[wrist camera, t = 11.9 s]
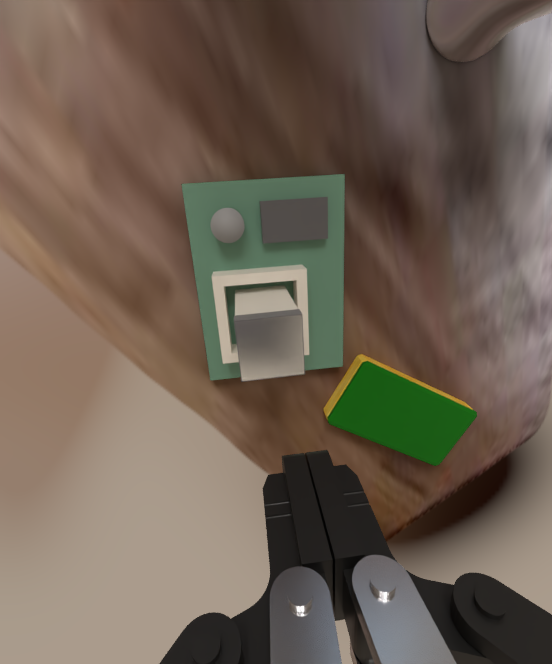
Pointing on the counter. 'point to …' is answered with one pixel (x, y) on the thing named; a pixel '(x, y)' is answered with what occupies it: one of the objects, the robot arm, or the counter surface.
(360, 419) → the dish sponge
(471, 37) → the beer glass
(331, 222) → the board
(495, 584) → the robot arm
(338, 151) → the counter surface
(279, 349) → the plug
